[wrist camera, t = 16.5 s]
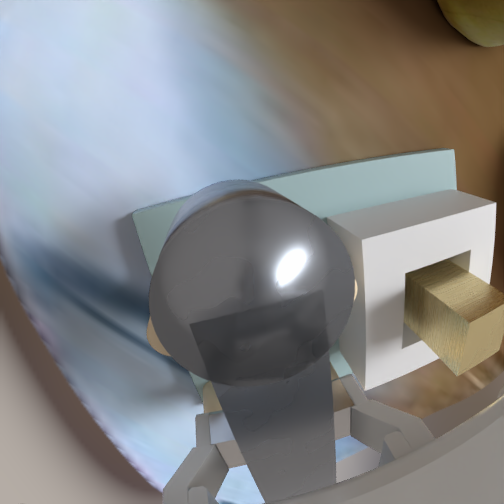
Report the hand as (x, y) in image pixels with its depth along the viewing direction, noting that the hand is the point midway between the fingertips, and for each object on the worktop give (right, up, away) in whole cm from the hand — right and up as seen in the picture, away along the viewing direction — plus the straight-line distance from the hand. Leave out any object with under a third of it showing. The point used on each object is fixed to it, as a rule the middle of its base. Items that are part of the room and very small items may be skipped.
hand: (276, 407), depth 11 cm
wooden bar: (+8, +5, +7) cm, 12 cm away
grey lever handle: (0, +1, +1) cm, 2 cm away
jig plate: (+4, +4, +8) cm, 9 cm away
